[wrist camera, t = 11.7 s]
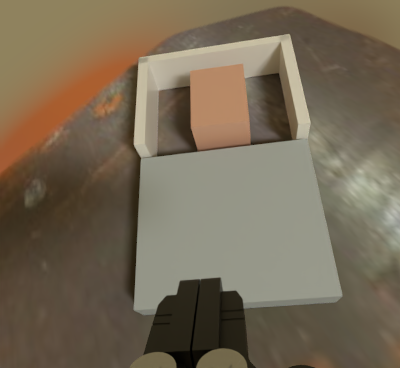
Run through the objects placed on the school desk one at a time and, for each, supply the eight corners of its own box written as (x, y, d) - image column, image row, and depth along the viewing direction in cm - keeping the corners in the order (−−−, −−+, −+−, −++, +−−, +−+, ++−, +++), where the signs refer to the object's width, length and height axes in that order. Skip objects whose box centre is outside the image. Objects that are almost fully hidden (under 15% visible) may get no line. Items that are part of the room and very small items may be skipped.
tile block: (190, 127, 37) (190, 70, 40) (200, 158, 42) (198, 105, 46) (249, 120, 36) (242, 63, 40) (251, 152, 41) (245, 99, 45)
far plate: (143, 314, 34) (133, 310, 32) (148, 172, 42) (140, 158, 39) (336, 302, 32) (342, 295, 29) (304, 153, 40) (307, 138, 37)
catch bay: (147, 168, 42) (133, 145, 38) (150, 86, 48) (138, 57, 44) (305, 150, 40) (310, 122, 35) (287, 66, 46) (289, 34, 42)
